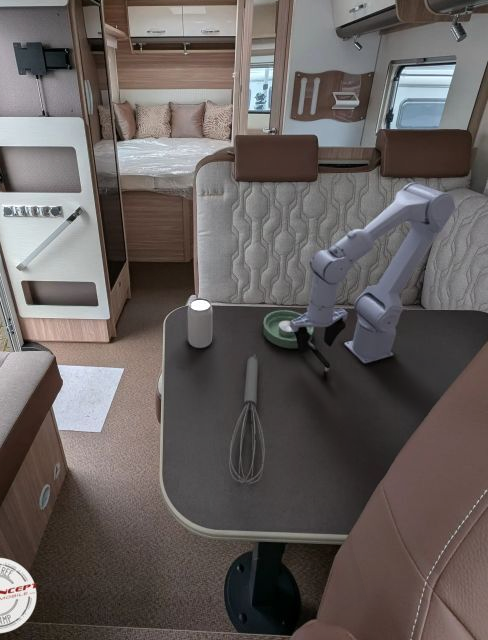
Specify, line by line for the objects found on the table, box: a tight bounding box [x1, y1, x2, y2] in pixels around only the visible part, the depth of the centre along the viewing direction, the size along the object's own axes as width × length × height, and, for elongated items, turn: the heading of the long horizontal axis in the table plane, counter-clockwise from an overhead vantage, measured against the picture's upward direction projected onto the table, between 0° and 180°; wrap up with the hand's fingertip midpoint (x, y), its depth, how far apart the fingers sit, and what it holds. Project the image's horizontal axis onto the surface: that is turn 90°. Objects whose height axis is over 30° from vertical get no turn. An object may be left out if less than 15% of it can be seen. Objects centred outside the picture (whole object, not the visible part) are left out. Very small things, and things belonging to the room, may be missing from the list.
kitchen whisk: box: [229, 353, 266, 486], centre depth 76 cm, size 6×34×6 cm, turn 172°
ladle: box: [278, 321, 331, 379], centre depth 94 cm, size 20×5×5 cm, turn 20°
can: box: [187, 297, 213, 349], centre depth 95 cm, size 6×6×12 cm
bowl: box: [262, 309, 315, 349], centre depth 101 cm, size 14×14×3 cm
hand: (314, 347), depth 89 cm, fingers open, 7 cm apart
